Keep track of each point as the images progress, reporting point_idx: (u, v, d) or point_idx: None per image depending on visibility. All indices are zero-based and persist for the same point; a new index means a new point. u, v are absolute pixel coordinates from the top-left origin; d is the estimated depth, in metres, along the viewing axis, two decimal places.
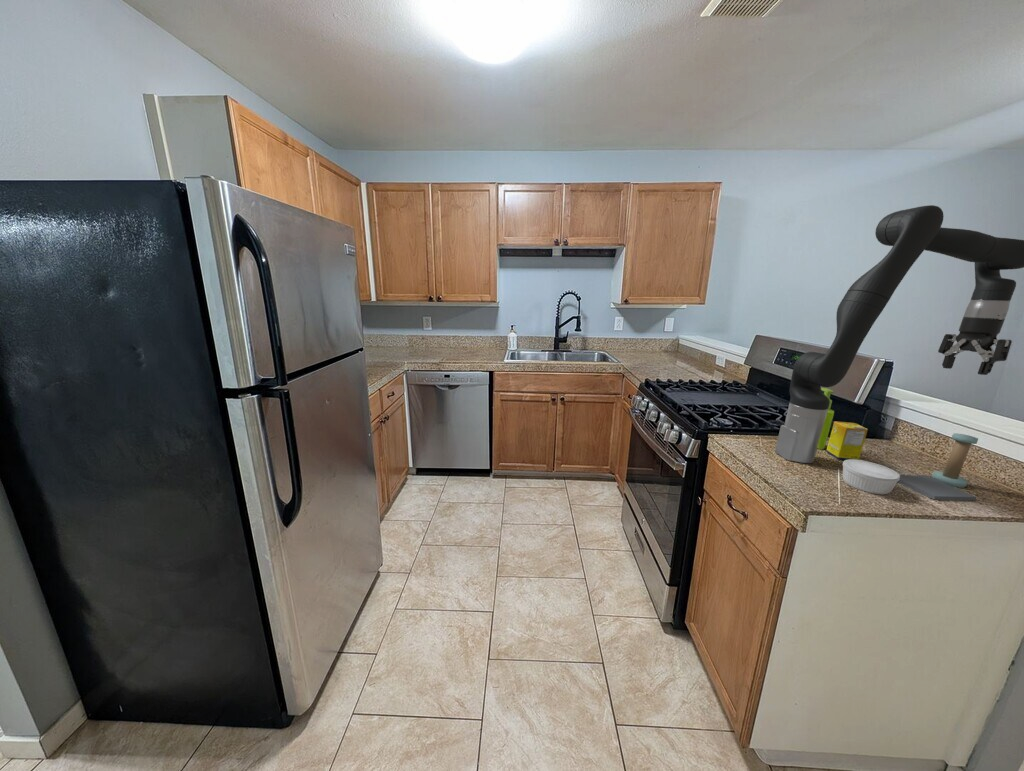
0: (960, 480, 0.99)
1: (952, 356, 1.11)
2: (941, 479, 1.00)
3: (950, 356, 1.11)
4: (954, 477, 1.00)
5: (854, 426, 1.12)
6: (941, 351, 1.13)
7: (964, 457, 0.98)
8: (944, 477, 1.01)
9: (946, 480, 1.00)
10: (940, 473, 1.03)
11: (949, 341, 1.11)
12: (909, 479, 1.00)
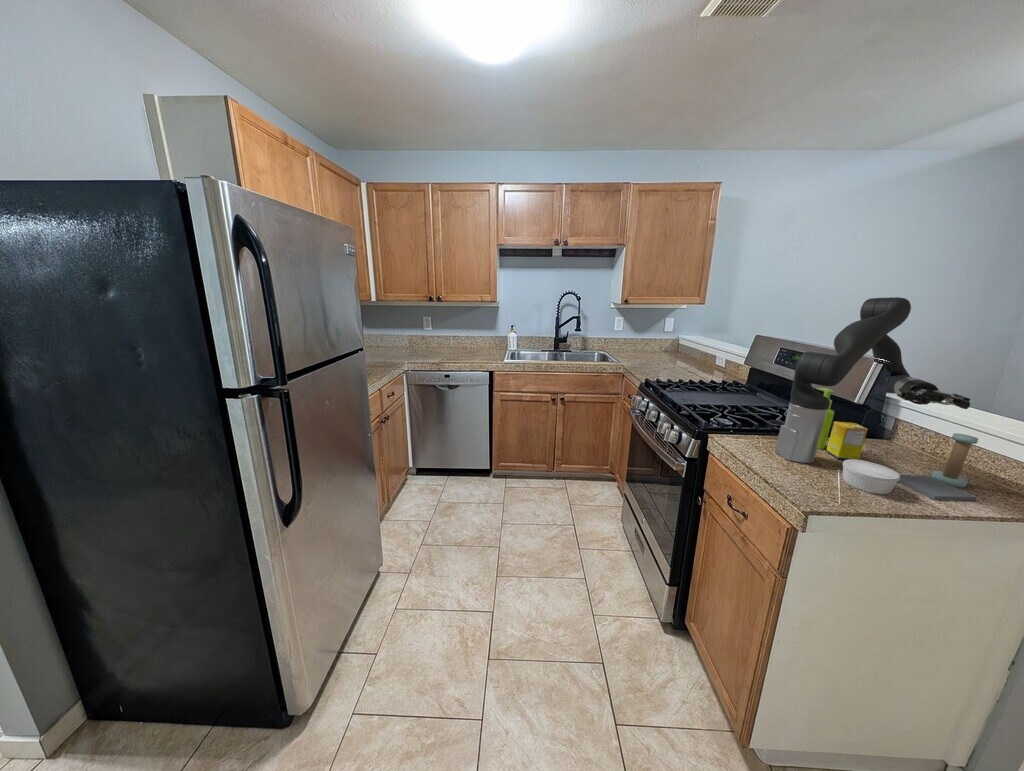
0: (960, 480, 0.99)
1: None
2: (941, 479, 1.00)
3: None
4: (954, 477, 1.00)
5: (854, 426, 1.12)
6: (910, 392, 1.13)
7: (964, 457, 0.98)
8: (944, 477, 1.01)
9: (946, 480, 1.00)
10: (940, 473, 1.03)
11: None
12: (909, 479, 1.00)
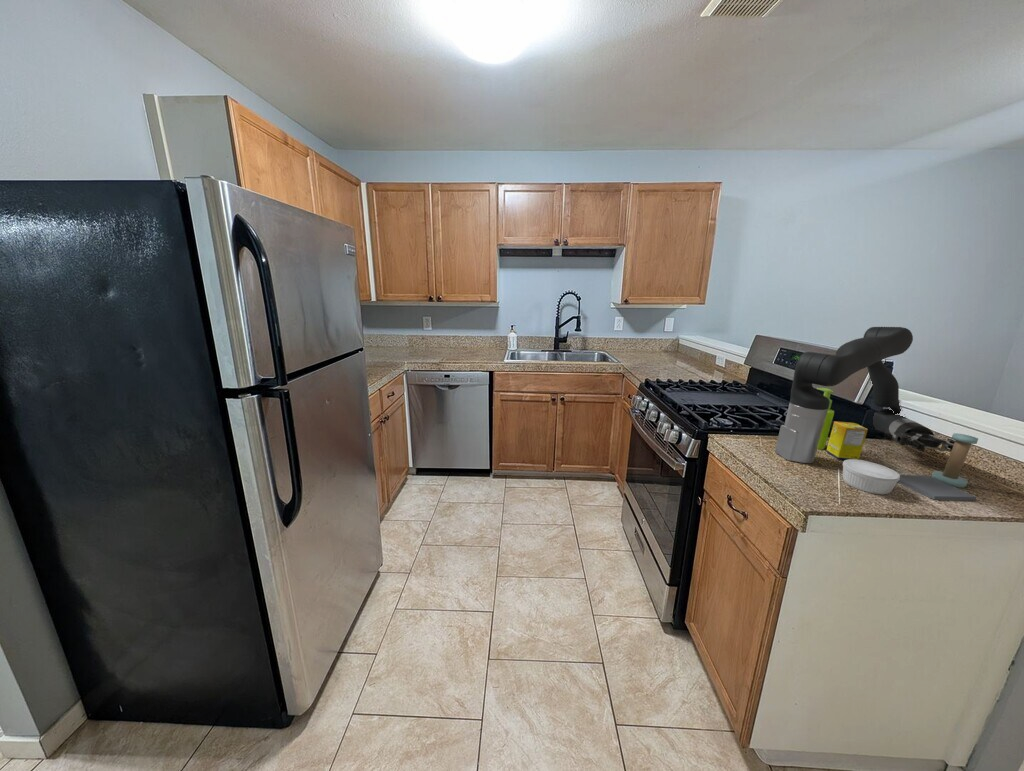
0: (960, 480, 0.99)
1: None
2: (941, 479, 1.00)
3: None
4: (954, 477, 1.00)
5: (854, 426, 1.12)
6: (905, 437, 1.11)
7: (964, 457, 0.98)
8: (944, 477, 1.01)
9: (946, 480, 1.00)
10: (940, 473, 1.03)
11: None
12: (909, 479, 1.00)
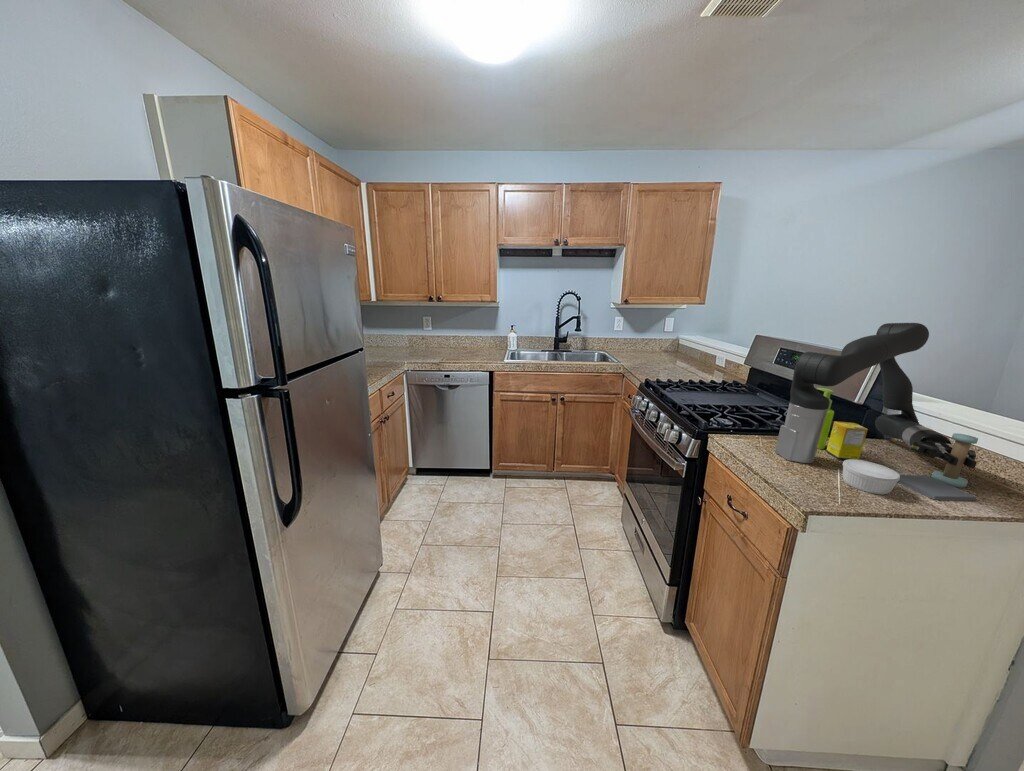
0: (960, 480, 0.99)
1: None
2: (941, 479, 1.00)
3: None
4: (954, 477, 1.00)
5: (854, 426, 1.12)
6: (935, 449, 1.03)
7: (964, 457, 0.98)
8: (944, 477, 1.01)
9: (946, 480, 1.00)
10: (941, 473, 1.03)
11: None
12: (909, 479, 1.00)
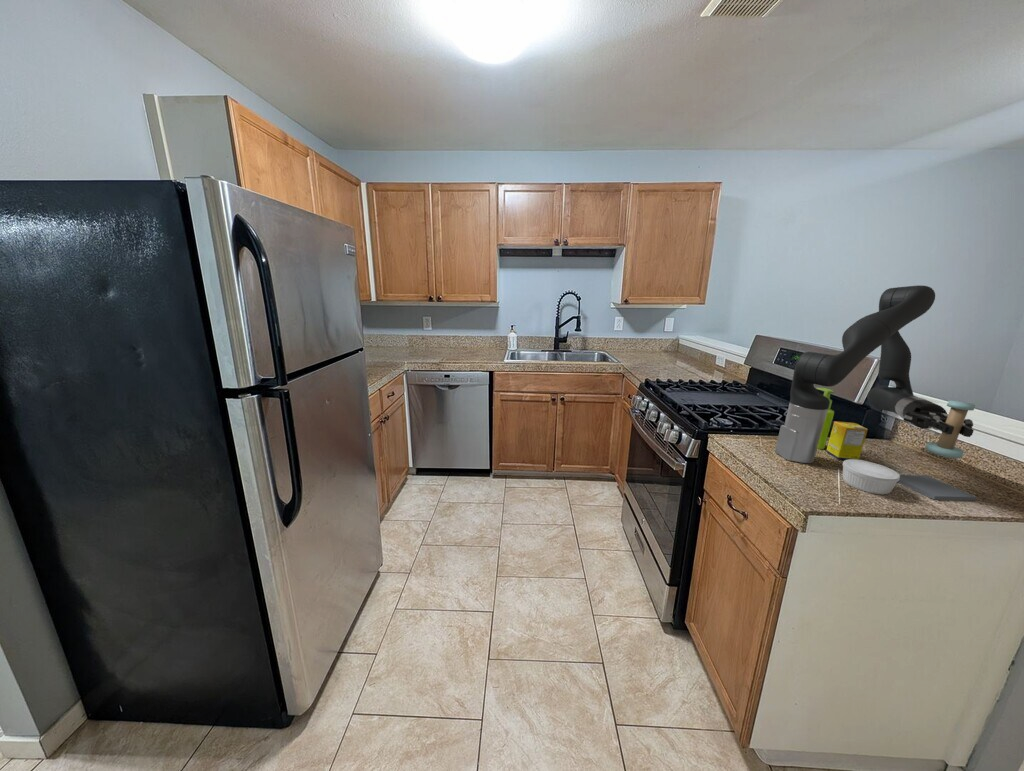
0: (956, 450, 0.92)
1: None
2: (935, 450, 0.94)
3: None
4: (949, 447, 0.93)
5: (854, 426, 1.12)
6: (929, 418, 0.96)
7: (960, 425, 0.91)
8: (939, 447, 0.94)
9: (941, 450, 0.93)
10: (935, 444, 0.96)
11: None
12: (909, 479, 1.00)
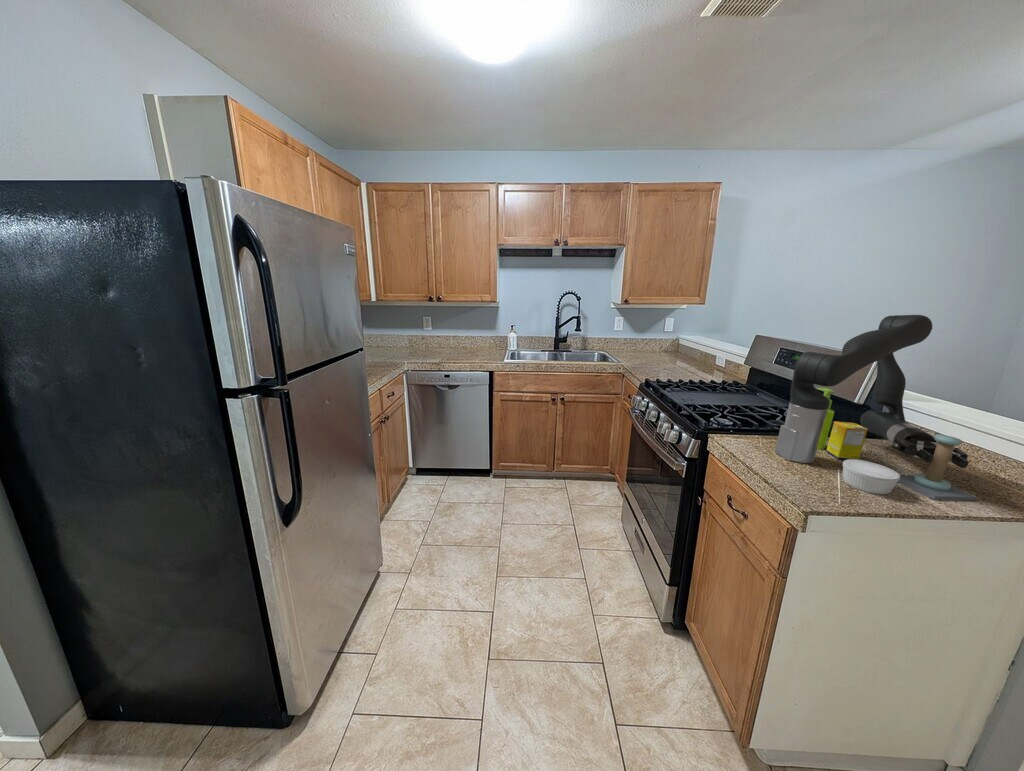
0: (943, 483, 0.95)
1: None
2: (923, 482, 0.96)
3: None
4: (937, 480, 0.95)
5: (854, 426, 1.12)
6: (911, 446, 0.99)
7: (947, 459, 0.94)
8: (926, 480, 0.96)
9: (928, 483, 0.95)
10: (923, 476, 0.99)
11: None
12: (909, 479, 1.00)
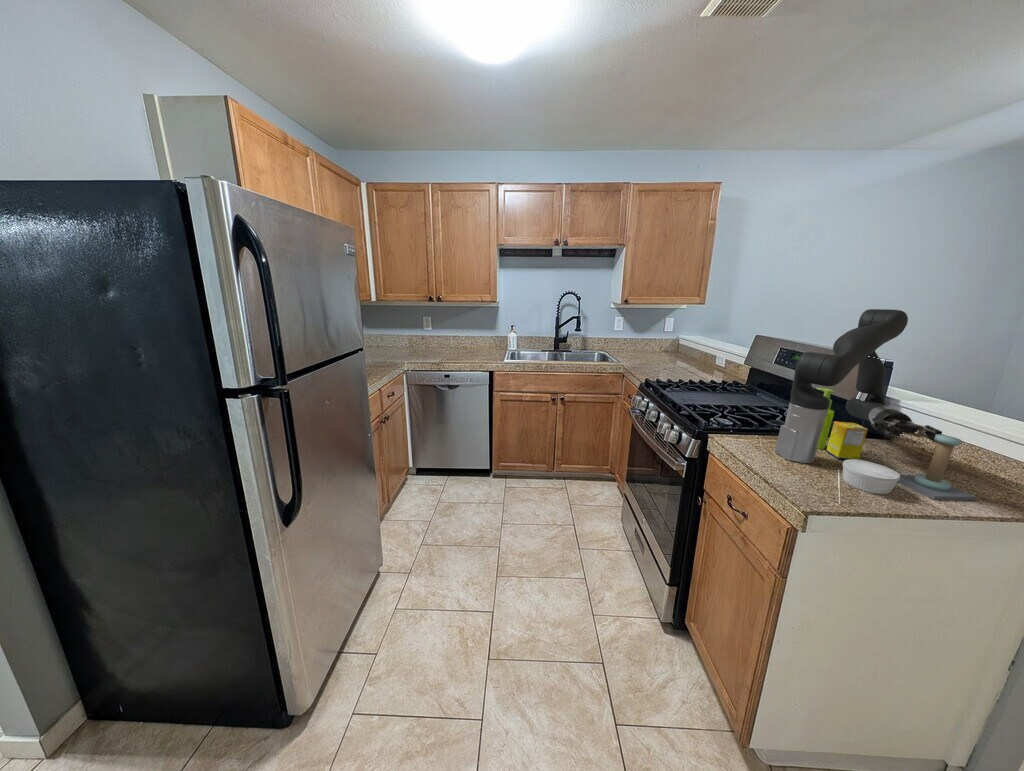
0: (943, 483, 0.95)
1: None
2: (923, 482, 0.96)
3: None
4: (937, 480, 0.95)
5: (854, 426, 1.12)
6: (882, 423, 1.11)
7: (947, 459, 0.94)
8: (926, 480, 0.96)
9: (928, 483, 0.95)
10: (923, 476, 0.99)
11: None
12: (909, 479, 1.00)
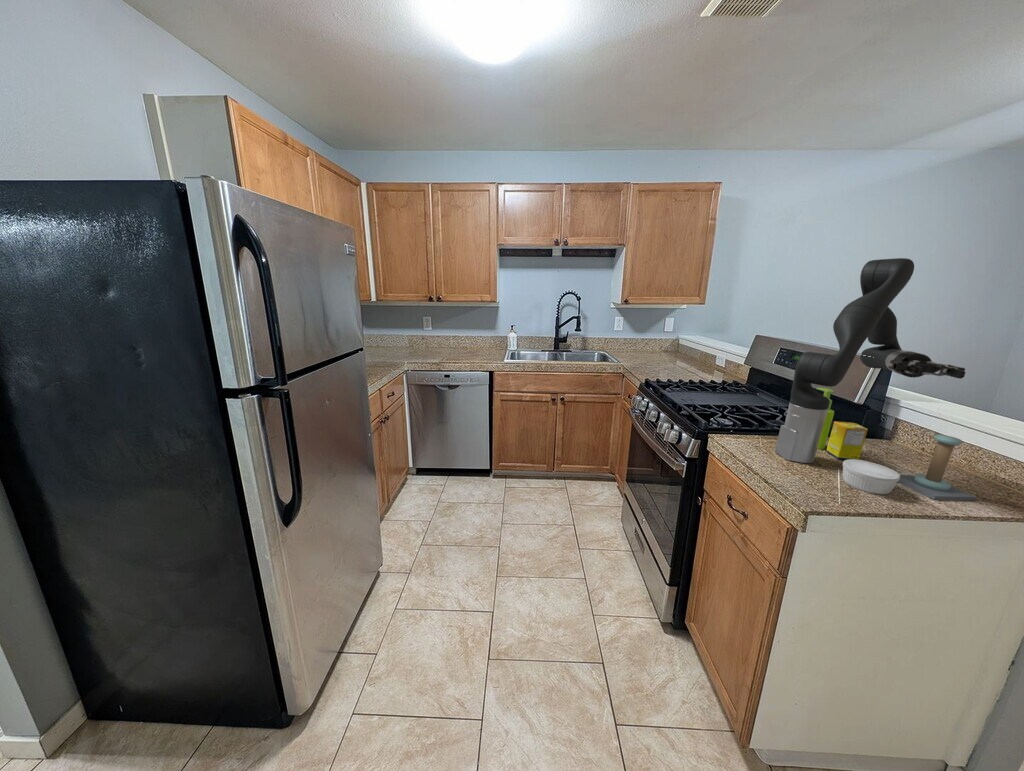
0: (943, 483, 0.95)
1: None
2: (923, 482, 0.96)
3: None
4: (937, 480, 0.95)
5: (854, 426, 1.12)
6: (902, 363, 1.06)
7: (947, 459, 0.94)
8: (926, 480, 0.96)
9: (928, 483, 0.95)
10: (923, 476, 0.99)
11: None
12: (909, 479, 1.00)
